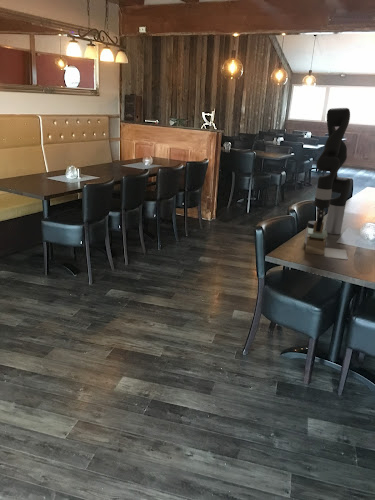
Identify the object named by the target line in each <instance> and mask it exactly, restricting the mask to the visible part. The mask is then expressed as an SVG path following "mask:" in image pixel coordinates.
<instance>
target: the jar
mask: <svg viewBox="0 0 375 500" xmlns="http://www.w3.org/2000/svg"><path fill="white" fill-rule="evenodd" d="M315 221H316V220H308V222H307V226H306V230H305V235H304V242H303V243H304V244H305V245H306V241H307V235H308V228H311V229H313V228H314V222H315Z"/></svg>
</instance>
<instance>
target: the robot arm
mask: <svg viewBox="0 0 375 500" xmlns="http://www.w3.org/2000/svg"><path fill="white" fill-rule="evenodd" d="M350 111H351V110H350V108H348V107H334V108H329V109H328V110H327V113H326V125H327V127H326V128H327V135H328V138H327V139H326V142H325V145H324V148H323V151H322V153H321V155H319V157H318V158H317V161H316V168H317V170H318V171H320V172H329V174H328V175H327V174H326V175H321V176H319V177H318V179H317V187H316V190H315V196H314V202H313V204H314V205H313V206H314V207H315V208H317V209H316V215H315V217H316V218H315V219H316V220H315V221H317V226H316V231H318V232H320V230H321V225H322V222H324V221H323V220H324V218H325V214H326V215H327V216H326V222H325V228H324V230H327V234H328V235H340V234H341V232H342V226H343V222H344V218H345V216H344V215H345V210H346V205H347V202H348V195H349V191H350V187H351V179H350V178H349V177H341V176H338V172H339V171H340V169H341V167H342V166H343V165H344V164H345V163H346V160H347V156H348V152H347V151H348V147H347V144H346V143H345V142H344V139H343V138H344V136H345V133H346V131H347V129H348V126H349V123H350V120H351V112H350ZM336 127H337V128H336ZM332 193H336V194H340V195H339V196H338V197H332ZM325 209H328V210H327V213H326V210H325Z"/></svg>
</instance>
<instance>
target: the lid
mask: <svg viewBox="0 0 375 500" xmlns="http://www.w3.org/2000/svg"><path fill="white" fill-rule="evenodd" d="M314 221H315V222H314V228H313V229H311V228H308V235H311V237H315V238H324V237H325V238H328V235H329V234H328V233H327V230H325V229H324V225H325V223H324V221H322V225H321V230H320V232H318V231H316V226H317V221H316V220H314Z"/></svg>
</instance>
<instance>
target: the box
mask: <svg viewBox="0 0 375 500" xmlns="http://www.w3.org/2000/svg"><path fill="white" fill-rule="evenodd" d="M326 240H327V239H326V237H324V238H315V237H311V235H307V241H306V244H305V252H304V253H305V254H311V255H321V256H325V254H324V250H325V248H326Z"/></svg>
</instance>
